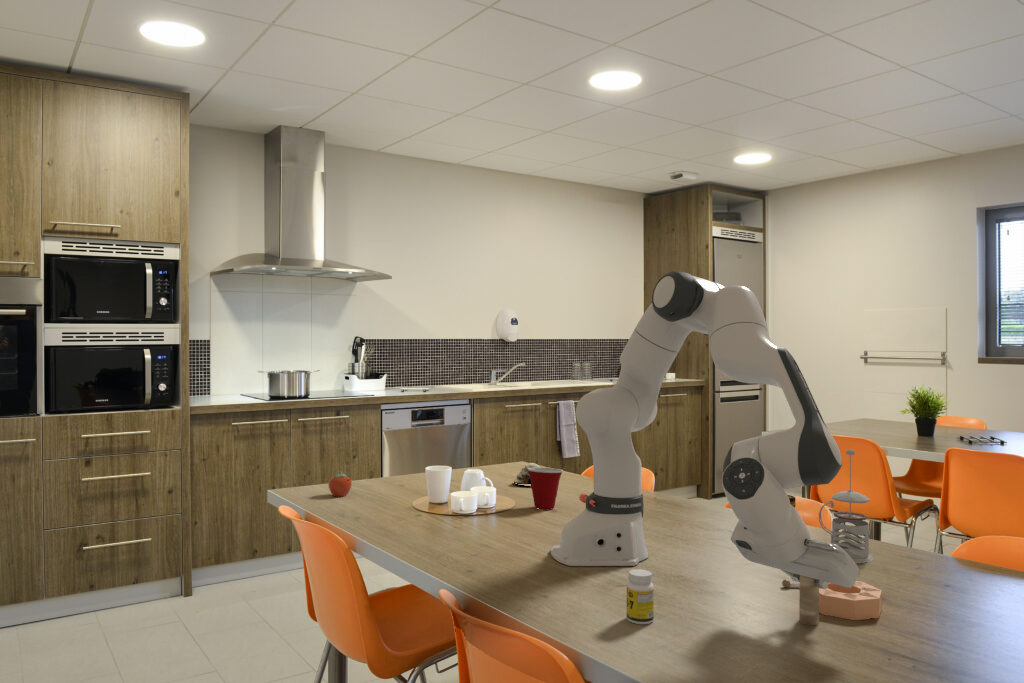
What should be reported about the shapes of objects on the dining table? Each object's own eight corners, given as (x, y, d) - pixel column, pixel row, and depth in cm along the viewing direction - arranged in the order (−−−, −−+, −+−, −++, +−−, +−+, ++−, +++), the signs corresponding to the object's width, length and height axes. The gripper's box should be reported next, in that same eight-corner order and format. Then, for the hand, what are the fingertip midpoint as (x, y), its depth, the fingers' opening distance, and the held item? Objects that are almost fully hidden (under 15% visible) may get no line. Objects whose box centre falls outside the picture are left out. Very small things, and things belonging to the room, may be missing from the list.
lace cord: (783, 588, 145) (783, 580, 145) (780, 586, 147) (780, 578, 147) (872, 590, 145) (872, 582, 145) (868, 587, 146) (868, 579, 146)
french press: (871, 565, 161) (871, 453, 161) (815, 557, 167) (815, 449, 168) (875, 555, 170) (876, 448, 170) (822, 547, 176) (822, 444, 176)
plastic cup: (569, 506, 219) (569, 467, 219) (551, 513, 210) (552, 472, 210) (538, 502, 225) (538, 463, 225) (520, 508, 216) (520, 468, 216)
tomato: (348, 498, 229) (349, 472, 229) (325, 498, 229) (325, 472, 229) (354, 493, 236) (354, 469, 237) (331, 493, 237) (331, 468, 237)
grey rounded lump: (510, 485, 248) (512, 460, 255) (513, 500, 256) (515, 475, 263) (545, 485, 247) (546, 459, 254) (547, 500, 254) (548, 475, 261)
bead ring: (836, 621, 128) (836, 601, 128) (793, 598, 140) (793, 579, 140) (896, 616, 130) (896, 596, 130) (849, 593, 143) (849, 575, 143)
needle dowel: (806, 625, 126) (807, 550, 126) (795, 618, 129) (795, 545, 129) (823, 624, 126) (823, 549, 127) (811, 617, 130) (811, 544, 130)
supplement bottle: (623, 615, 130) (623, 568, 130) (649, 614, 130) (649, 568, 131) (630, 625, 125) (630, 576, 125) (656, 624, 126) (657, 576, 126)
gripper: (847, 532, 115) (876, 581, 121) (737, 509, 131) (767, 554, 137) (833, 565, 113) (863, 614, 119) (722, 537, 129) (753, 582, 135)
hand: (811, 581), depth 128 cm, fingers closed on needle dowel, 3 cm apart
